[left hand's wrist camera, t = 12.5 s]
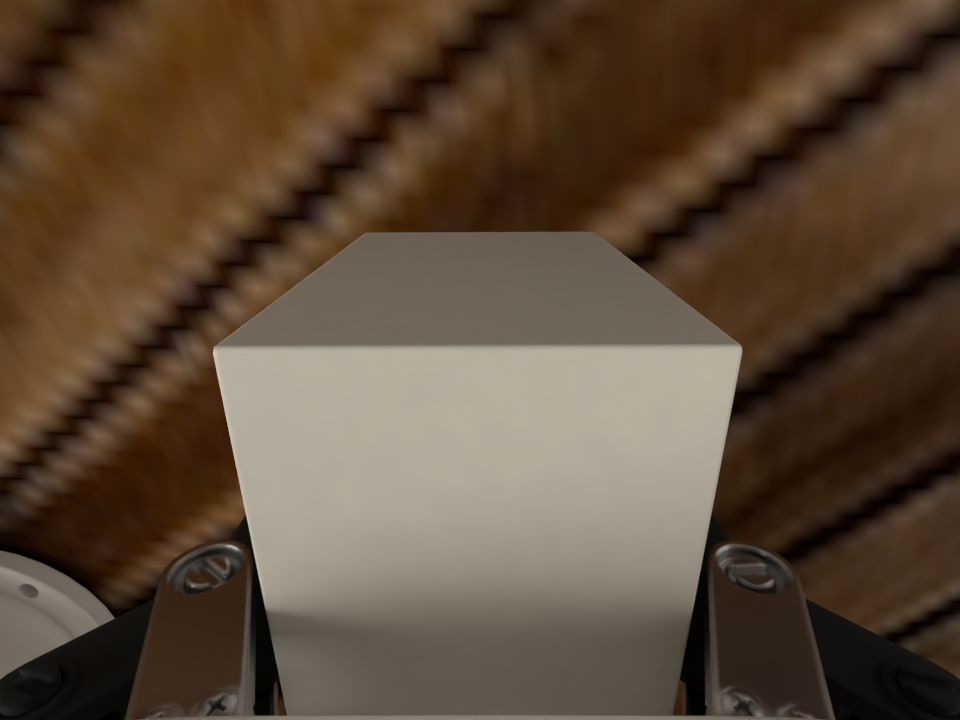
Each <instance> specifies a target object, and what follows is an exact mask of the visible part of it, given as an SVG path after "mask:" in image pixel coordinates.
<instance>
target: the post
mask: <svg viewBox="0 0 960 720" xmlns="http://www.w3.org/2000/svg"><path fill="white" fill-rule="evenodd" d="M213 355H214V360H215V365H216V370H217V375H218V380H219V385H220V390H221V395H222V399H223V404H224V409H225V414H226V419H227V424H228V429H229V434H230V439H231V443H232V448H233V453H234V458H235V463H236V468H237V473H238V478H239V483H240V487H241V492H242V497H243V502H244V507H245V512H246V517H247V522H248V527H249V531H250V536H251V541H252V546H253V551H254V556H255V561H256V566H257V571H258V575H259V580H260V585H261V590H262V595H263V600H264V605H265V610H266V615H267V619H268V624H269V629H270V634H271V639H272V644H273V649H274V654H275V659H276V663H277V668H278V673H279V678H280V683H281V688H282V693H283V698H284V703H285V707H286V712H287V716H392V715H569V716H673V711H674V706H675V701H676V696H677V690H678V685H679V680H680V675H681V670H682V664H683V659H684V654H685V649H686V643H687V638H688V633H689V628H690V623H691V617H692V612H693V607H694V602H695V597H696V591H697V586H698V581H699V576H700V570H701V565H702V560H703V555H704V550H705V544H706V539H707V534H708V529H709V524H710V518H711V513H712V508H713V503H714V497H715V492H716V487H717V482H718V477H719V471H720V466H721V461H722V456H723V451H724V445H725V440H726V435H727V430H728V424H729V419H730V414H731V409H732V404H733V398H734V393H735V388H736V383H737V378H738V372H739V367H740V362H741V357H742V346H741V345H740V344H739V343H737V342H736V341H735V340H734V339H732V338H731V337H730V336H728V335H727V334H726V333H724V332H723V331H722V330H721V329H719V328H718V327H717V326H715V325H714V324H713V323H712V322H710V321H709V320H708V319H706V318H705V317H704V316H702V315H701V314H700V313H699V312H697V311H696V310H695V309H693V308H692V307H691V306H689V305H688V304H687V303H686V302H684V301H683V300H682V299H680V298H679V297H678V296H676V295H675V294H674V293H673V292H671V291H670V290H669V289H667V288H666V287H665V286H663V285H662V284H661V283H660V282H658V281H657V280H656V279H654V278H653V277H652V276H650V275H649V274H648V273H647V272H645V271H644V270H643V269H641V268H640V267H639V266H637V265H636V264H635V263H634V262H632V261H631V260H630V259H628V258H627V257H626V256H624V255H623V254H622V253H621V252H619V251H618V250H617V249H615V248H614V247H613V246H611V245H610V244H609V243H608V242H606V241H605V240H604V239H602V238H601V237H600V236H599V235H597V234H596V233H594V232H431V233H365V234H363V235H362V236H361V237H359V238H358V239H357V240H356V241H354V242H353V243H352V244H350V245H349V246H348V247H346V248H345V249H344V250H342V251H341V252H340V253H338V254H337V255H336V256H334V257H333V258H332V259H330V260H329V261H328V262H326V263H325V264H324V265H322V266H321V267H320V268H318V269H317V270H316V271H314V272H313V273H312V274H310V275H309V276H308V277H306V278H305V279H304V280H302V281H301V282H300V283H298V284H297V285H296V286H295V287H293V288H292V289H291V290H289V291H288V292H287V293H285V294H284V295H283V296H281V297H280V298H279V299H277V300H276V301H275V302H273V303H272V304H271V305H269V306H268V307H267V308H265V309H264V310H263V311H261V312H260V313H259V314H257V315H256V316H255V317H253V318H252V319H251V320H249V321H248V322H247V323H245V324H244V325H243V326H241V327H240V328H239V329H237V330H236V331H235V332H234V333H232V334H231V335H230V336H228V337H227V338H226V339H224V340H223V341H222V342H220V343H219V344H218V345H216V346H215V347H214V350H213Z"/></svg>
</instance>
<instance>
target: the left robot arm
mask: <svg viewBox="0 0 960 720" xmlns="http://www.w3.org/2000/svg"><path fill="white" fill-rule="evenodd" d="M278 680H280V678H279V673H278V668H277V663H276V659H275V654H274V649H273V644H272V639H271V634H270V629H269V624H268V619H267V615H266V610H265V605H264V600H263V595H262V590H261V585H260V580H259V575H258V571H257V566H256V561H255V556H254V551H253V546H252V541H251V536H250V531H249V527H248V522H247V517H246V516H245V517H244V519H243V520H242V522H241V524H240V525H239V527H238V528H237V530H236V531H235V533H234V535H233V536H232V538H231V539H230V540H219V541H211V542H208V543H205V544H201V545H198V546H196V547H194V548H192V549H190V550H188V551H185V552H184V553H182V554H181V555H179V556H178V557H177V558H175V559H174V560H173V561H172V562H171V563H170V564H169V565H168V566H167V567H166V568H165V569H164V571H163V573H162V576H161V578H160V580H159V584H158V588H157V592H156V596H155V599H153V600H151V601H149V602H147V603H145V604H143V605H141V606H139V607H137V608H135V609H133V610H131V611H129V612H127V613H125V614H123V615H121V616H119V617H117V618H114V617H113V615H112V614H111V613H110V611H109V610H108V609H107V608H106V606H105V605H104V604H103V603H102V602H101V601H99V600H98V599H97V598H96V597H95V596H94V595H93V594H92V593H91V592H90V591H89V590H87V589H86V588H85V587H83V586H82V585H80V584H79V583H77V582H76V581H74V580H73V579H71V578H70V577H69V576H67V575H65V574H63V573H61V572H59V571H57V570H55V569H53V568H51V567H50V566H48V565H46V564H44V563H41V562H38V561H35V560H32V559H30V558H27V557H24V556H21V555H19V554H14V553H10V552H5V551H1V550H0V720H960V680H959V679H958V678H957V677H956V676H954V675H953V674H952V673H950V672H948V671H946V670H945V669H943V668H941V667H940V666H938V665H936V664H935V663H933V662H931V661H929V660H927V659H925V658H923V657H921V656H919V655H917V654H915V653H913V652H911V651H909V650H907V649H905V648H903V647H901V646H899V645H897V644H895V643H893V642H891V641H889V640H887V639H885V638H883V637H881V636H879V635H877V634H875V633H873V632H871V631H869V630H867V629H865V628H863V627H861V626H859V625H857V624H855V623H853V622H851V621H849V620H847V619H845V618H843V617H841V616H839V615H837V614H835V613H833V612H831V611H829V610H827V609H825V608H823V607H821V606H819V605H817V604H815V603H813V602H811V601H809V600H807V599H805V596H804V592H803V588H802V584H801V580H800V578H799V576H798V573H797V571H796V569H795V568H794V567H793V566H792V565H791V564H790V563H789V562H788V561H787V560H786V559H785V558H783V557H782V556H781V555H779V554H778V553H776V552H775V551H772V550H770V549H768V548H766V547H764V546H762V545H759V544H755V543H752V542H749V541H741V540H729V538H728V537H727V535H726V534H725V532H724V530H723V529H722V527H721V526H720V524H719V522H718V521H717V519H716V518H715V516H714V515H713V513H711V518H710V524H709V529H708V534H707V539H706V544H705V550H704V555H703V560H702V565H701V570H700V576H699V581H698V586H697V591H696V597H695V602H694V607H693V612H692V617H691V623H690V628H689V633H688V638H687V643H686V649H685V654H684V659H683V664H682V670H681V675H680V680H682V681H683V686H682V716H569V715H392V716H278V686H277V681H278Z"/></svg>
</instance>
